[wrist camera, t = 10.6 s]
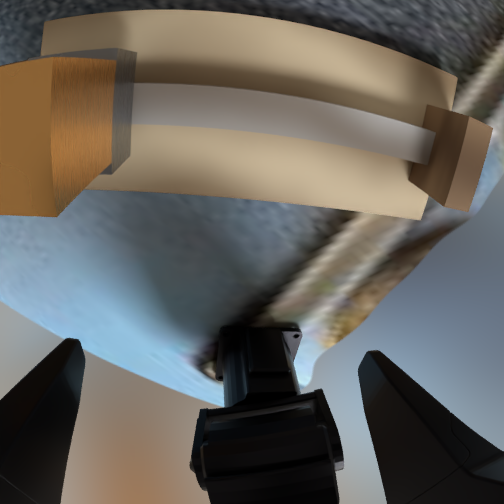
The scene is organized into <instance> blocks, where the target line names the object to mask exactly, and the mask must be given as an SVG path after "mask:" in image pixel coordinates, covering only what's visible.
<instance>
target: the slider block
mask: <svg viewBox="0 0 504 504" xmlns="http://www.w3.org/2000/svg"><path fill="white" fill-rule="evenodd" d="M136 59H137V52H134V51H129V50H125V49H121V48H106V49H93V50H83V51H73V52H65V53H58V54H51V55H45V56H39V57H33V58H28V61H25V62H20V63H15V64H11V65H6V66H2V67H0V215H16V216H41V217H58V216H59V214H60V213H61V212H62V211H63V210H64V209H65V208H66V207H67V206H68V205H69V204H70V203H71V202H72V201H73V200H74V199H75V198H76V197H77V196H78V195H79V194H80V193H81V192H82V191H83V190H84V189H85V188H86V187H87V186H88V185H89V184H90V183H91V182H92V181H93V180H94V179H95V178H96V177H97V176H98V175H112V174H113V173H114V172H115V171H116V170H117V169H118V168H119V167H120V166H121V165H122V164H123V163H124V162H125V161H126V160H127V159H128V158H129V157H130V151H131V124H132V106H133V92H134V80H135V69H136Z"/></svg>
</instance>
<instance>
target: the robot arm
mask: <svg viewBox="0 0 504 504" xmlns="http://www.w3.org/2000/svg"><path fill="white" fill-rule="evenodd" d="M225 332H228V333H225ZM295 334H297V335H295ZM301 338H302V332H301V330H300V329H298V328H257V327H230V326H225V327H222V328H221V329H220V332H219V342H218V352H217V363H216V373H215V376H216V379H217V380H218V381H223V385H224V405H225V407H224V408H216V409H208V408H206V409H200V412H199V418H198V419H197V424H196V431H195V436H194V443H193V448H192V455H191V461H190V469H191V470H192V471H193V472H194V473H195V474H196V477H197V481H198V483H199V485H200V487H201V488H202V490H204V491H207V492H208V495H209V499H210V503H211V504H339V493H338V486H337V480H336V473H335V471H338V470H342V469H343V468H344V458H343V450H342V445H341V440H340V436H339V433H338V429H337V427H336V423H335V421H334V418H333V416H332V413H331V411H330V408H329V405H328V403H327V400H326V398H325V395H324V393H323V390H322V389H317V390H314V392H309V393H305V394H301V392H300V388H299V384H298V380H297V376H296V371H295V367H294V363H293V362H294V359H295V356H296V353H297V350H298V347H299V344H300V341H301ZM84 369H85V355H84V352H83V349H82V346H81V343H80V341H79V340H78V339H74V338H66V339H65V340H64V341H62V342H61V343H60V344H59V345H58V346H57V347H56V348H55V349H54V350H53V351H52V352H50V353H49V354H48V355H47V356H46V357H45V358H44V359H43V360H42V361H41V362H40V363H38V364H37V366H35V367H34V368H33V369H32V370H31V371H30V372H29V373H28V374H27V375H26V376H25V377H24V378H23V379H21V380H20V382H18V383H17V384H16V385H15V386H14V387H13V388H12V389H11V390H10V391H9V392H8V393H7V394H6V395H5V396H4V397H3V398H2V399H1V400H0V504H60V503H61V495H62V488H63V483H64V477H65V471H66V465H67V460H68V455H69V449H70V445H71V439H72V435H73V431H74V426H75V421H76V418H77V413H78V409H79V403H80V396H81V388H82V382H83V375H84ZM358 376H359V382H360V388H361V394H362V400H363V405H364V406H363V407H364V412H365V416H366V420H367V423H368V427H369V431H370V435H371V438H372V442H373V446H374V450H375V454H376V458H377V462H378V466H379V470H380V475H381V479H382V483H383V487H384V491H385V496H386V501H387V504H504V451H502V450H500V449H498V448H497V447H495V446H494V445H493V444H491V443H490V442H488V441H487V440H486V439H484V438H483V437H481V436H480V435H479V434H477V433H476V432H475V431H473V430H472V429H470V428H469V427H468V426H467V425H465V424H464V423H463V422H462V421H461V420H459V419H458V418H457V417H456V416H455V415H454V414H452V413H450V411H449V410H448V409H447V408H445V407H444V406H443V405H442V404H441V403H440V402H438V401H437V400H436V399H435V398H434V397H433V396H432V395H430V394H429V393H428V392H427V391H426V390H425V389H424V388H422V387H421V386H420V385H419V384H418V383H417V382H415V381H414V380H413V379H412V378H411V377H410V376H409V375H407V374H406V373H405V372H404V371H403V370H402V369H400V368H399V367H398V366H397V365H396V364H394V363H393V362H392V361H391V360H390V359H389V358H388V357H386V356H385V355H384V354H383V353H382V352H380V351H378V350H373V351H368V352H366V354H365V356H364V358H363V360H362V362H361V364H360V365H359V368H358Z"/></svg>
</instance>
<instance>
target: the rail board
mask: <svg viewBox="0 0 504 504" xmlns="http://www.w3.org/2000/svg"><path fill="white" fill-rule="evenodd" d="M106 48H121V49H125V50H129V51H134V52H137V59H136V69H135V80H134V92H133V106H132V124H131V151H130V157H129V158H128V159H127V160H126V161H125V162H124V163H123V164H122V165H121V166H120V167H119V168H118V169H117V170H116V171H115V172H114V173H113V174H112V175H98V176H97V177H96V178H95V179H94V180H93V181H92V182H91V183H90V184H89V185H88V186H87V187H86V188H85V189H86V190H116V191H138V192H157V193H174V194H189V195H203V196H216V197H229V198H241V199H252V200H262V201H273V202H283V203H292V204H301V205H310V206H319V207H328V208H336V209H344V210H352V211H359V212H367V213H374V214H381V215H389V216H395V217H402V218H409V219H415V220H421V217H422V214H423V211H424V208H425V205H426V202H427V199H428V196H430V197H432V198H433V199H434V200H436V201H437V202H438V203H440V204H441V205H442V206H444V207H447V208H452V209H457V210H461V211H466V212H468V211H469V208H470V206H471V203H472V200H473V197H474V194H475V191H476V188H477V185H478V181H479V178H480V175H481V172H482V168H483V165H484V161H485V158H486V154H487V150H488V146H489V142H490V138H491V134H492V130H493V128H492V127H490V126H488V125H486V124H484V123H482V122H480V121H478V120H475V119H473V118H471V117H469V116H466V115H462V114H459V113H456V112H453V111H451V109H452V104H453V99H454V94H455V89H456V83H457V77H455V76H453V75H451V74H449V73H447V72H445V71H443V70H440V69H438V68H436V67H434V66H432V65H429V64H427V63H425V62H422V61H420V60H417V59H415V58H412V57H410V56H407V55H405V54H402V53H400V52H397V51H394V50H392V49H389V48H386V47H383V46H380V45H377V44H374V43H371V42H368V41H365V40H362V39H358V38H355V37H352V36H348V35H345V34H341V33H337V32H334V31H330V30H326V29H322V28H317V27H313V26H309V25H304V24H299V23H294V22H289V21H284V20H278V19H272V18H266V17H259V16H252V15H244V14H236V13H226V12H214V11H198V10H133V11H118V12H106V13H96V14H88V15H80V16H74V17H67V18H61V19H56V20H50V21H45V22H44V30H43V38H42V47H41V56H45V55H51V54H58V53H65V52H73V51H83V50H93V49H106ZM25 61H28V60H25ZM25 61H20V62H25ZM20 62H15V63H20ZM15 63H10V64H6V65H11V64H15ZM6 65H2V66H6ZM2 66H0V67H2Z"/></svg>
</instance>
